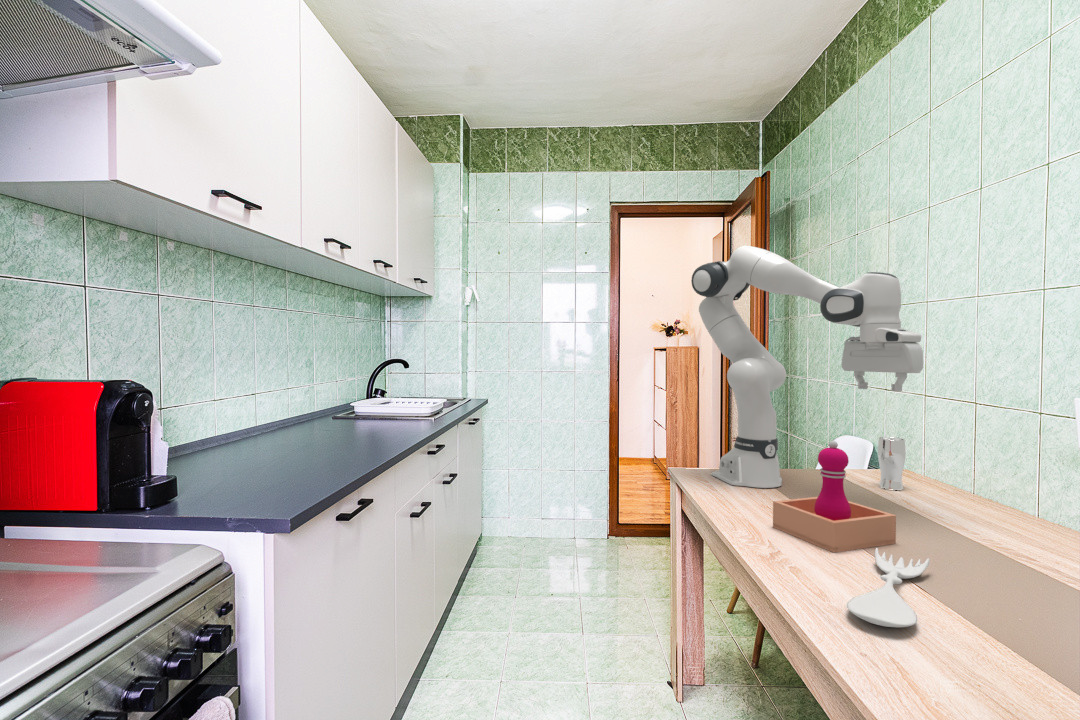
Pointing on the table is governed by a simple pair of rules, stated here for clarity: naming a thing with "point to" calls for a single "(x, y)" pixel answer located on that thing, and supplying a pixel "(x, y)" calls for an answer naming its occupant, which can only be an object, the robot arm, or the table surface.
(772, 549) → the table surface
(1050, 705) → the table surface
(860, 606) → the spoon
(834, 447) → the pepper mill
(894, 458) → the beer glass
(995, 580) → the table surface
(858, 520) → the crate
